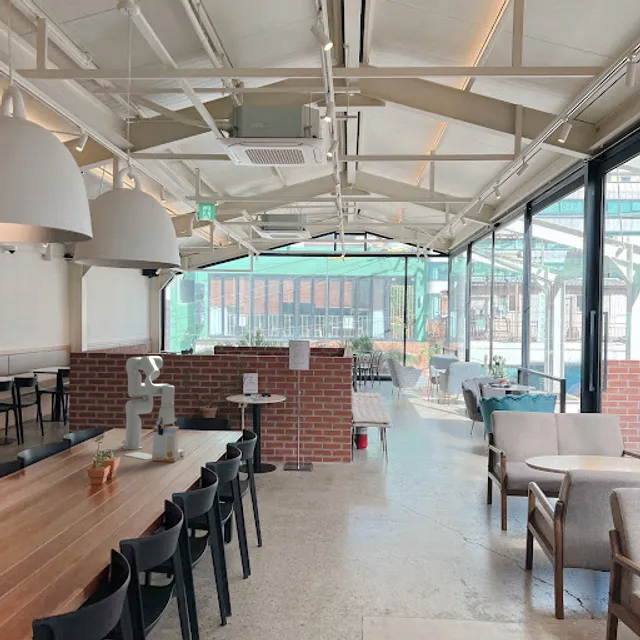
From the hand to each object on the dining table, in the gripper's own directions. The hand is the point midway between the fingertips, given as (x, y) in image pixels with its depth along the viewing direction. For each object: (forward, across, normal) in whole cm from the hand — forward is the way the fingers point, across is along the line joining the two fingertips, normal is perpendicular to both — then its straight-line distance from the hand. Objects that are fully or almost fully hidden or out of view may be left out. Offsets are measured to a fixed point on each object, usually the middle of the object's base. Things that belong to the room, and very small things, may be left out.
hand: (166, 433), depth 360 cm
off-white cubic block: (+16, -10, +2) cm, 19 cm away
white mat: (+16, 0, -18) cm, 25 cm away
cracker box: (+16, 0, 0) cm, 16 cm away
